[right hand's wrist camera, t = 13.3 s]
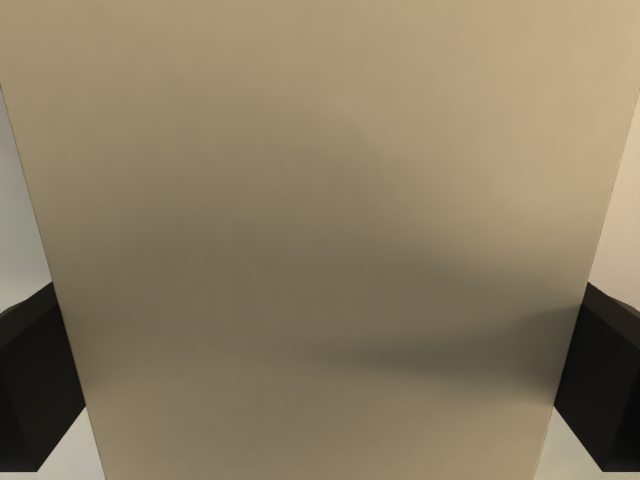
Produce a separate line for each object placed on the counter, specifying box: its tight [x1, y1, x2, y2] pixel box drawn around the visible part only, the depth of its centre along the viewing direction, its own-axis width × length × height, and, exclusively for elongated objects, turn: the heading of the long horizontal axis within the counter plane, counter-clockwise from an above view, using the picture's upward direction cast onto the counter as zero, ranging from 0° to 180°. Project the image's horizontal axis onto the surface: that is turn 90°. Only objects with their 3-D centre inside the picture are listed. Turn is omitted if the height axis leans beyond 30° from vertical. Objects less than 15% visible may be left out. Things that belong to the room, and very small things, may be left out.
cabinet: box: [0, 0, 640, 480], centre depth 10 cm, size 21×11×9 cm, turn 0°
